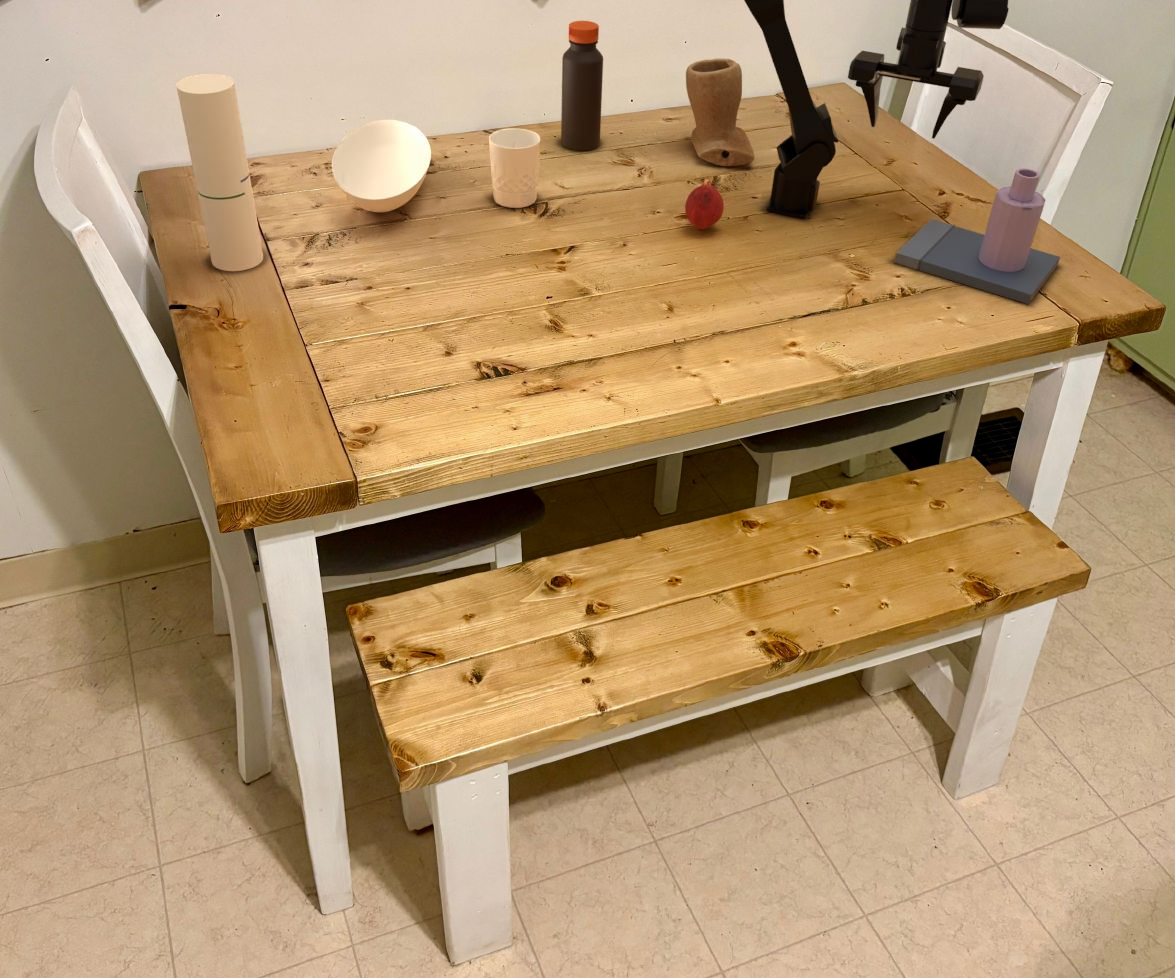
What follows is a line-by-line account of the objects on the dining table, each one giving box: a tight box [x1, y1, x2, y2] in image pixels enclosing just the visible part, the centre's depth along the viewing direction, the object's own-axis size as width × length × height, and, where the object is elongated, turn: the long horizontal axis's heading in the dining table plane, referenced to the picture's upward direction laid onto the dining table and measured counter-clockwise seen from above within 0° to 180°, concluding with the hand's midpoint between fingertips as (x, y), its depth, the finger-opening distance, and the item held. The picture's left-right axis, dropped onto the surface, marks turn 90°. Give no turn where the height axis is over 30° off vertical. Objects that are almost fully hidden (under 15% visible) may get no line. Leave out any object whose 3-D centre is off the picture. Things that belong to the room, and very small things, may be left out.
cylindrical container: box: [175, 73, 264, 272], centre depth 152 cm, size 7×7×25 cm
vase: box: [979, 168, 1046, 272], centre depth 160 cm, size 7×7×14 cm
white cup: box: [488, 127, 542, 209], centre depth 175 cm, size 8×8×10 cm
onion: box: [684, 178, 725, 231], centre depth 169 cm, size 6×6×8 cm
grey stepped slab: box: [894, 218, 1061, 305], centre depth 166 cm, size 20×14×2 cm
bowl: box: [331, 119, 432, 213], centre depth 176 cm, size 30×15×6 cm, turn 4°
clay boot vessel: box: [685, 58, 756, 167], centre depth 190 cm, size 15×12×15 cm
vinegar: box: [560, 20, 604, 152], centre depth 189 cm, size 7×7×20 cm
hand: (903, 131), depth 171 cm, fingers open, 9 cm apart
